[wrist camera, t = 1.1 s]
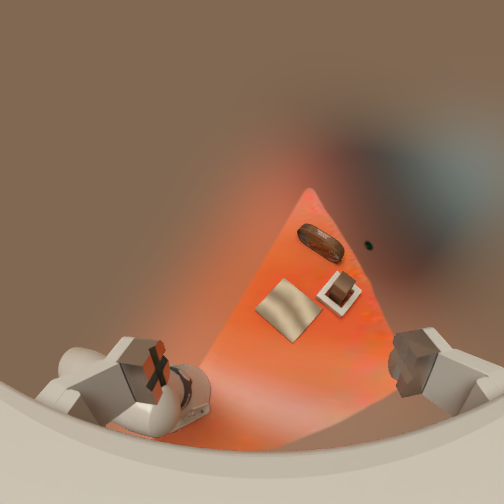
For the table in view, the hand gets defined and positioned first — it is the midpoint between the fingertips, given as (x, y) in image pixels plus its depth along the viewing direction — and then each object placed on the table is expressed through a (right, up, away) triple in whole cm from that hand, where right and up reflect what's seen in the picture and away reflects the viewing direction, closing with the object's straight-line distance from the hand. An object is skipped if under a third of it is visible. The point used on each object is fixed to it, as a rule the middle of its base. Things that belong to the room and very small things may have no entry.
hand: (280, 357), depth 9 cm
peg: (+23, -9, +64) cm, 68 cm away
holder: (+23, -9, +64) cm, 68 cm away
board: (+9, -12, +64) cm, 66 cm away
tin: (+19, +4, +71) cm, 73 cm away
